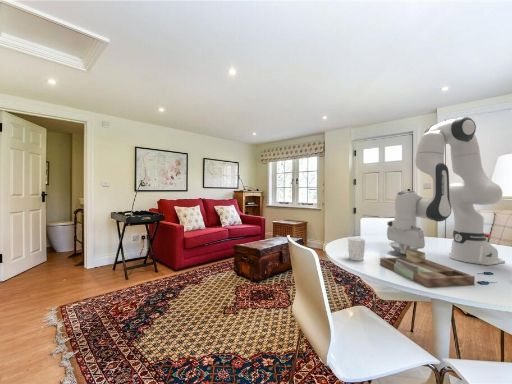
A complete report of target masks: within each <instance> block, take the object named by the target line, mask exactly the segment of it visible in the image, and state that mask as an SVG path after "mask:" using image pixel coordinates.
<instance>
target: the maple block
mask: <svg viewBox="0 0 512 384" xmlns="http://www.w3.org/2000/svg"><path fill="white" fill-rule="evenodd" d="M405 255H406V256H405V257H406V259H408V260H411V261H413V262H425V259H426V252H424V251H420V250H418V249H417V250H407V254H405Z"/></svg>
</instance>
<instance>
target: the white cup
mask: <svg viewBox="0 0 512 384" xmlns="http://www.w3.org/2000/svg"><path fill="white" fill-rule="evenodd" d="M347 240H348V241H347V247H348V248H347V249H348V259H349V260H352V261H358V262H361V261H364V255H365V249H366V248H365V247H366V239H365V238H362V237H355V236H354V237H348V238H347Z"/></svg>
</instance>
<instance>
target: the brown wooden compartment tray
mask: <svg viewBox="0 0 512 384" xmlns="http://www.w3.org/2000/svg"><path fill="white" fill-rule="evenodd" d="M379 265H380V266H383V267H384V268H386V269H388V270H390V271H392V272H395V273H397V274H399V275H401V276H403V277H405V278H407V279H409V280H411V281H414V282H415V283H417V284H419V285H422V286H424V287H426V288H438V287H453V286H454V287H455V286H456V287H457V286H472V285H473V286H474V285H475V283H476V281H475V278H476V277H475V275H472V274H469V273H466V272H463V271H460V270H458V269H457V270H456V269H455V268H451V267H448V266H446V265H443V264H440V263H436V262H434V261H431V260H429V259H426V258H425V262H413V261H411V260H408V259H406V256H405V257H404V256H403V257H400V256H399V257H380V258H379Z"/></svg>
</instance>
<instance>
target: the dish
mask: <svg viewBox="0 0 512 384" xmlns="http://www.w3.org/2000/svg"><path fill="white" fill-rule="evenodd" d="M388 245H389V246H390V247H391V248H392V249H393V250H394V251H396V252H397V253H401V252H400V250H401V249H400V247H399V243H398V242H394V241H390V242H388ZM404 248H405V247H404ZM409 250H418V249H417V248H414V247H410V249H409ZM401 254H403V255H405V254H404V253H401Z"/></svg>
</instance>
